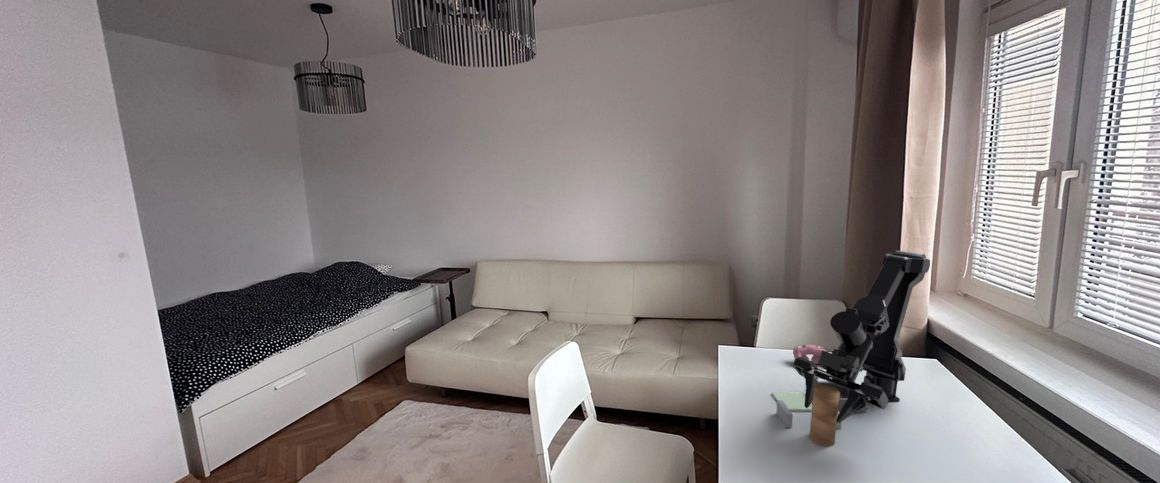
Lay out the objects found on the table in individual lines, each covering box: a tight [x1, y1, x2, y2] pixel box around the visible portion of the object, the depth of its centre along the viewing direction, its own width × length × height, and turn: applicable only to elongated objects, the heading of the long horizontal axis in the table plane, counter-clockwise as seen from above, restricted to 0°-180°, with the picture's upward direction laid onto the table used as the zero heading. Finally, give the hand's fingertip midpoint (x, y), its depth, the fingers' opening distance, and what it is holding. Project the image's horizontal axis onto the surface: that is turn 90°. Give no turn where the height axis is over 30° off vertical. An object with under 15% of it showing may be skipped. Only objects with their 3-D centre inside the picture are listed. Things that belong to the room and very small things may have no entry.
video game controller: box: [792, 344, 826, 365], centre depth 133 cm, size 10×5×7 cm, turn 85°
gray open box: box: [818, 380, 867, 414], centre depth 112 cm, size 9×9×4 cm
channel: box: [776, 400, 842, 430], centre depth 105 cm, size 12×6×4 cm, turn 87°
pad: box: [771, 391, 813, 412], centre depth 113 cm, size 8×8×1 cm
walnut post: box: [809, 384, 840, 447], centre depth 97 cm, size 5×5×12 cm
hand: (821, 414), depth 96 cm, fingers open, 7 cm apart
